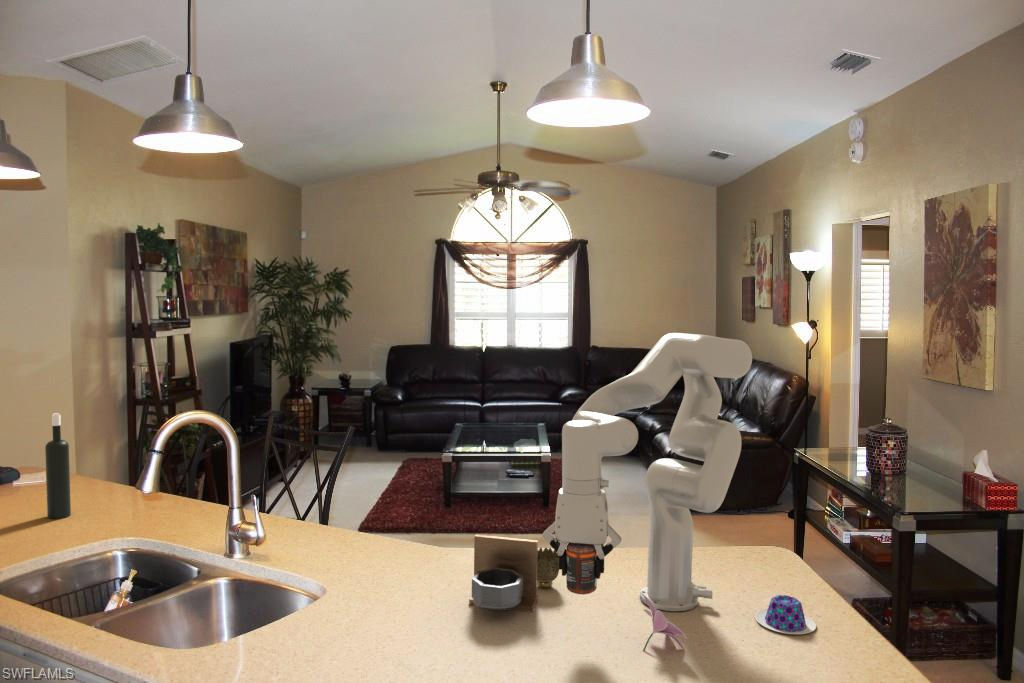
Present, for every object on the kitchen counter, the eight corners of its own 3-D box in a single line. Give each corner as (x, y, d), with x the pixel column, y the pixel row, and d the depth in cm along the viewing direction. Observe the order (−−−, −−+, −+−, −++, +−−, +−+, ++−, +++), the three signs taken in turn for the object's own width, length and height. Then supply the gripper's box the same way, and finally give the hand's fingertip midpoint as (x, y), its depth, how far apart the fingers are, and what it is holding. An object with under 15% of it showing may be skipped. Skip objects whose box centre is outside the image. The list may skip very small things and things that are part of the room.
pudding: (745, 624, 157) (746, 600, 156) (769, 606, 166) (770, 583, 165) (803, 643, 149) (804, 618, 148) (824, 624, 158) (826, 599, 157)
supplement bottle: (602, 588, 148) (603, 533, 147) (584, 598, 143) (584, 541, 142) (578, 580, 152) (579, 525, 151) (560, 589, 148) (560, 533, 146)
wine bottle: (42, 518, 216) (39, 414, 213) (58, 512, 221) (54, 411, 219) (60, 519, 215) (57, 415, 212) (75, 513, 220) (72, 412, 218)
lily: (685, 673, 138) (704, 623, 140) (626, 644, 139) (646, 595, 141) (670, 661, 150) (688, 615, 152) (616, 635, 151) (635, 589, 153)
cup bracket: (537, 600, 166) (539, 538, 165) (524, 628, 152) (525, 561, 151) (476, 593, 169) (477, 532, 168) (458, 620, 155) (458, 554, 154)
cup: (558, 594, 169) (558, 559, 169) (525, 591, 171) (526, 557, 170) (562, 581, 177) (563, 548, 176) (531, 578, 178) (532, 545, 177)
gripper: (628, 481, 147) (627, 570, 149) (541, 476, 151) (541, 563, 153) (625, 493, 140) (624, 586, 142) (534, 487, 144) (534, 578, 146)
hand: (581, 573), depth 147 cm, fingers closed on supplement bottle, 6 cm apart
